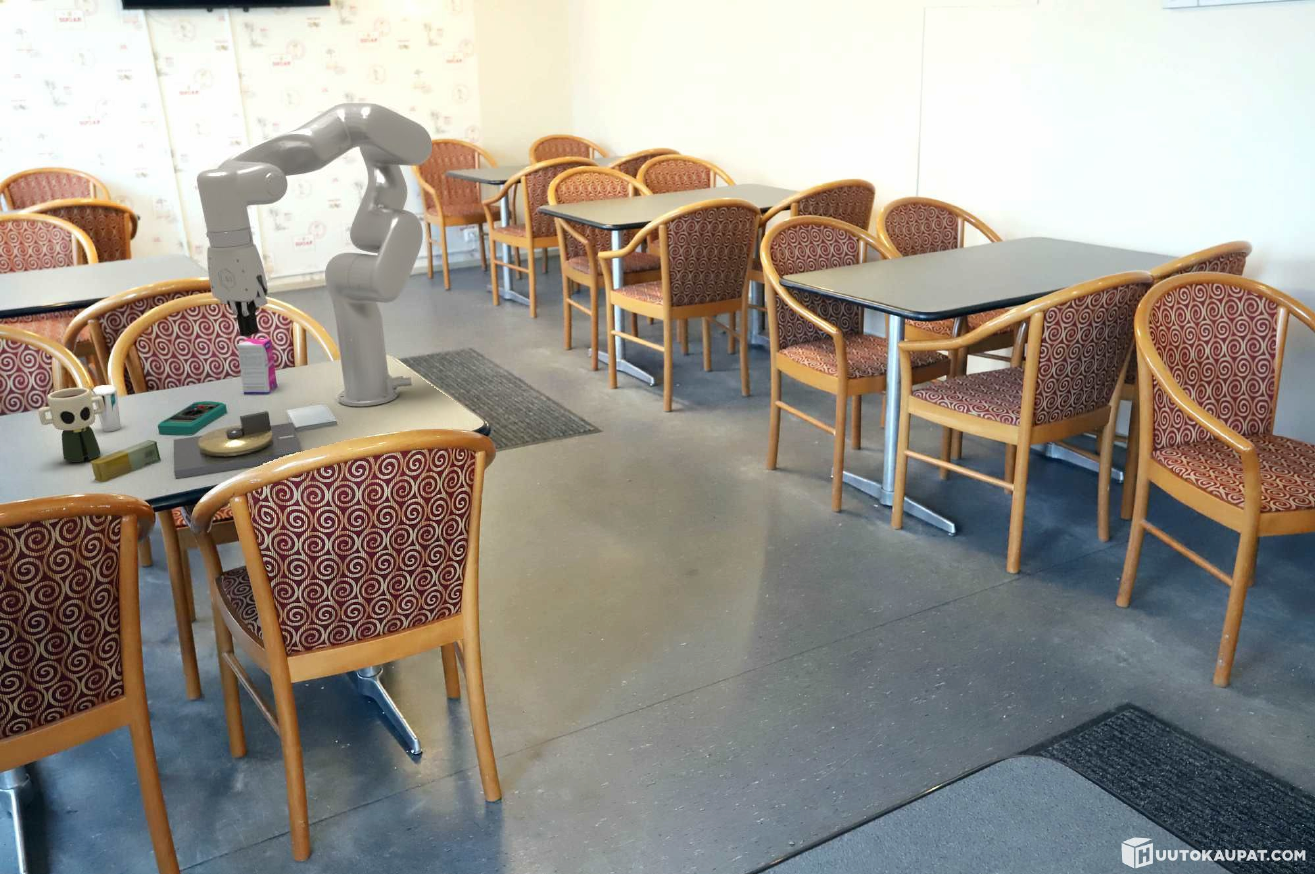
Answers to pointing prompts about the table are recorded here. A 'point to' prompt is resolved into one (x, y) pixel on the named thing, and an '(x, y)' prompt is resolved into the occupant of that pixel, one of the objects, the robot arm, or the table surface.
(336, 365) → the table surface
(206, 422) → the digital multimeter
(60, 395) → the character mug
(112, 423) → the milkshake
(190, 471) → the base plate
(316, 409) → the hard drive
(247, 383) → the supplement box
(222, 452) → the dial
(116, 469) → the medication box
